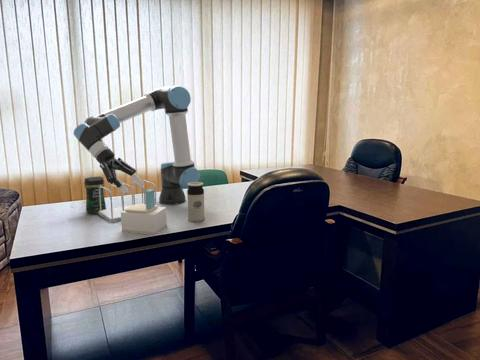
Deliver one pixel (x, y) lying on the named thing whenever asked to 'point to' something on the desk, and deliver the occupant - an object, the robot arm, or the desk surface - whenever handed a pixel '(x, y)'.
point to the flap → (145, 207)
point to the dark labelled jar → (195, 201)
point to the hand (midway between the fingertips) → (134, 188)
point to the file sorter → (115, 213)
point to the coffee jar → (94, 194)
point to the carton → (144, 221)
